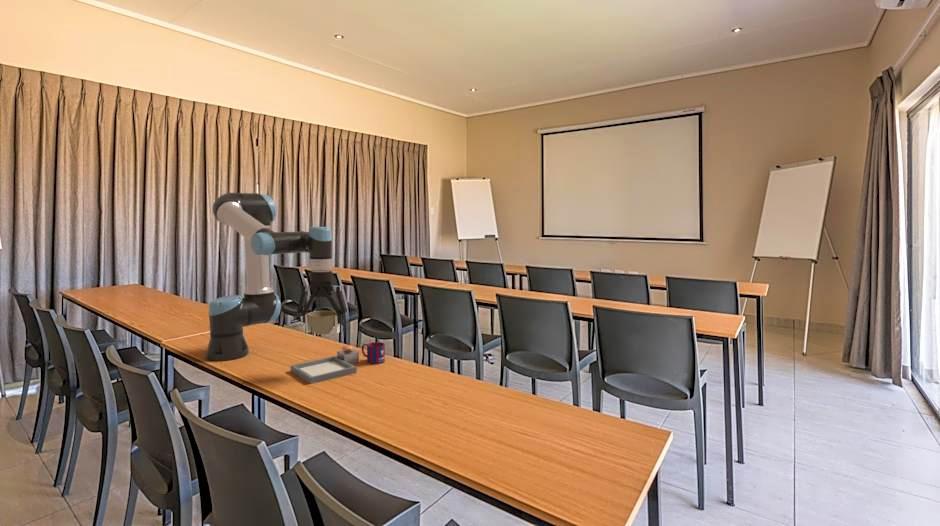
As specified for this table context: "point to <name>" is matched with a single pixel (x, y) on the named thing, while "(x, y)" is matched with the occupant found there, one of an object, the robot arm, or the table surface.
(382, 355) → the cup
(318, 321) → the flower pot
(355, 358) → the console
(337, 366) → the tray
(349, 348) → the button
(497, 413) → the table surface
